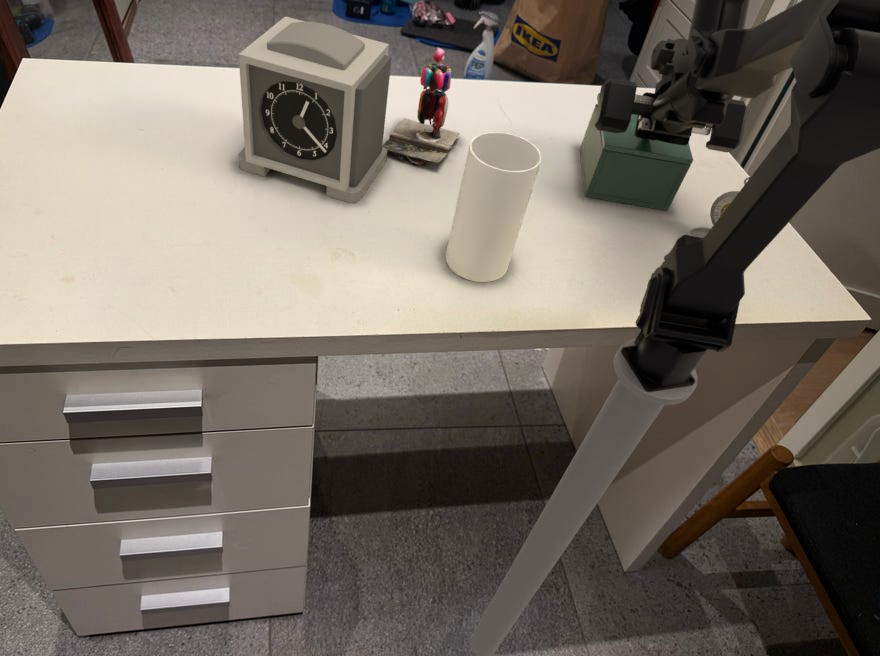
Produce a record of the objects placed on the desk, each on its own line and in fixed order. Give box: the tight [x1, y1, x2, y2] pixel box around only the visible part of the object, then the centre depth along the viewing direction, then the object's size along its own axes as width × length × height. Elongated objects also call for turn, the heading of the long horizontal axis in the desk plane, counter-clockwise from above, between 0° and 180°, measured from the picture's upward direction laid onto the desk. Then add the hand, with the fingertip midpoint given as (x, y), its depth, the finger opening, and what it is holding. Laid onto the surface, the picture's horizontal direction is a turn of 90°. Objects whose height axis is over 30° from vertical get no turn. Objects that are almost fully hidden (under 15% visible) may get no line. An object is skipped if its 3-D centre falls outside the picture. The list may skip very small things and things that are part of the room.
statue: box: [382, 47, 461, 166], centre depth 98 cm, size 11×9×15 cm
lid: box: [596, 92, 694, 165], centre depth 97 cm, size 14×13×1 cm
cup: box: [445, 131, 542, 283], centre depth 80 cm, size 8×8×16 cm
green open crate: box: [579, 103, 692, 211], centre depth 100 cm, size 14×13×8 cm
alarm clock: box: [237, 16, 393, 204], centre depth 89 cm, size 18×13×18 cm
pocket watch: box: [687, 176, 751, 238], centre depth 91 cm, size 8×8×10 cm
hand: (646, 133), depth 95 cm, fingers closed, pressing on lid
